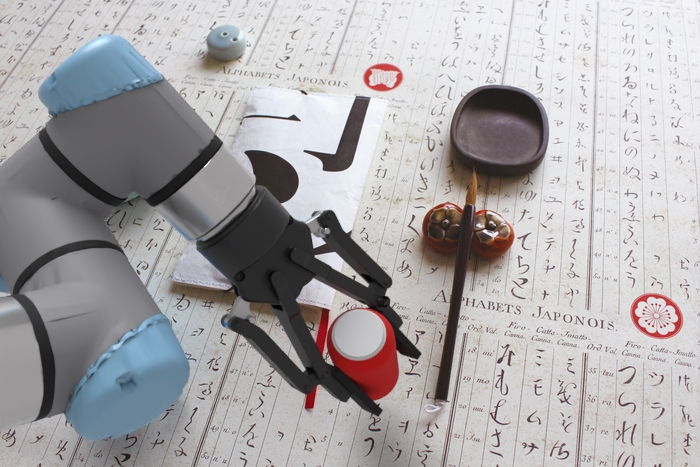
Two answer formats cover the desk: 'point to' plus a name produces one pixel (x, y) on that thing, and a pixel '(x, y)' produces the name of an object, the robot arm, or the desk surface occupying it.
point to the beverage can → (365, 350)
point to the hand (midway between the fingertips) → (392, 381)
